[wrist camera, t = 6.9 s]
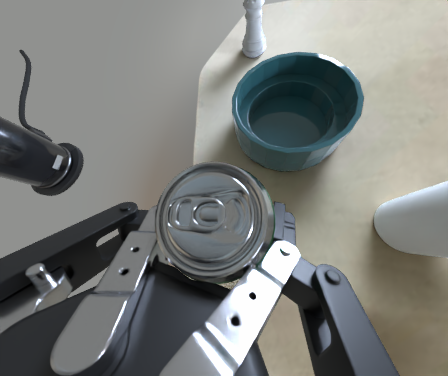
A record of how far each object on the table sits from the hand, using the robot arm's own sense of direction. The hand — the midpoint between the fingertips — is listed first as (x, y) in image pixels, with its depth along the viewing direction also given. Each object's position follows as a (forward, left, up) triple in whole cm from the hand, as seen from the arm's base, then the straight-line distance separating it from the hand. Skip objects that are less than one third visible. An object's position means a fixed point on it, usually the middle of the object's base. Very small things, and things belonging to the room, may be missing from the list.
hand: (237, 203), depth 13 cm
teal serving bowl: (-3, +15, -12) cm, 20 cm away
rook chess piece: (-17, +27, -12) cm, 35 cm away
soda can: (+1, -2, -6) cm, 6 cm away
